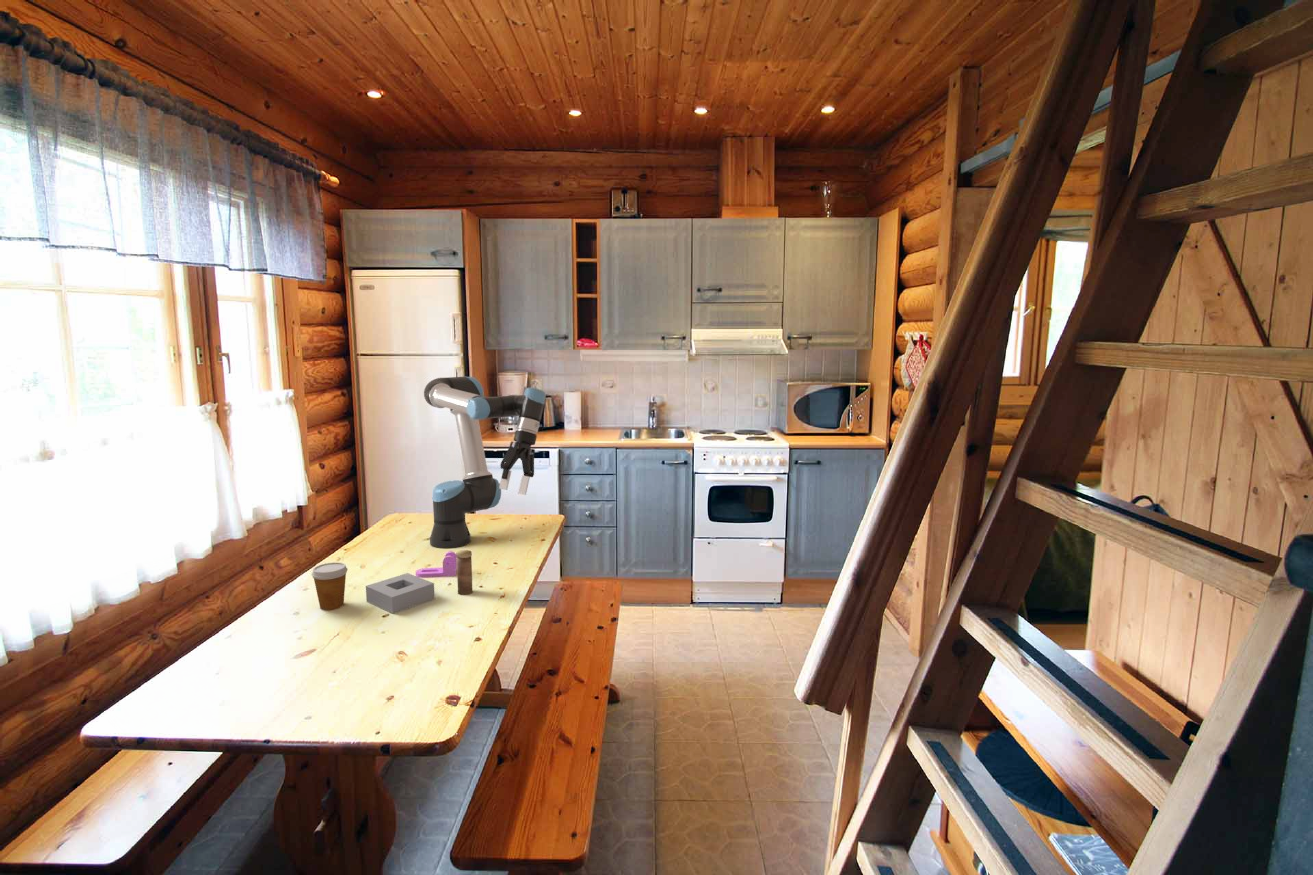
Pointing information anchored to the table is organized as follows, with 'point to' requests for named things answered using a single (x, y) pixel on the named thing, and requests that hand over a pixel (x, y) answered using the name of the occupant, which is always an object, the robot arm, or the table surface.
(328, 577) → the disposable coffee cup
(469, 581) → the walnut pin
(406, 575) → the socket block
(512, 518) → the table surface
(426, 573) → the bracket
